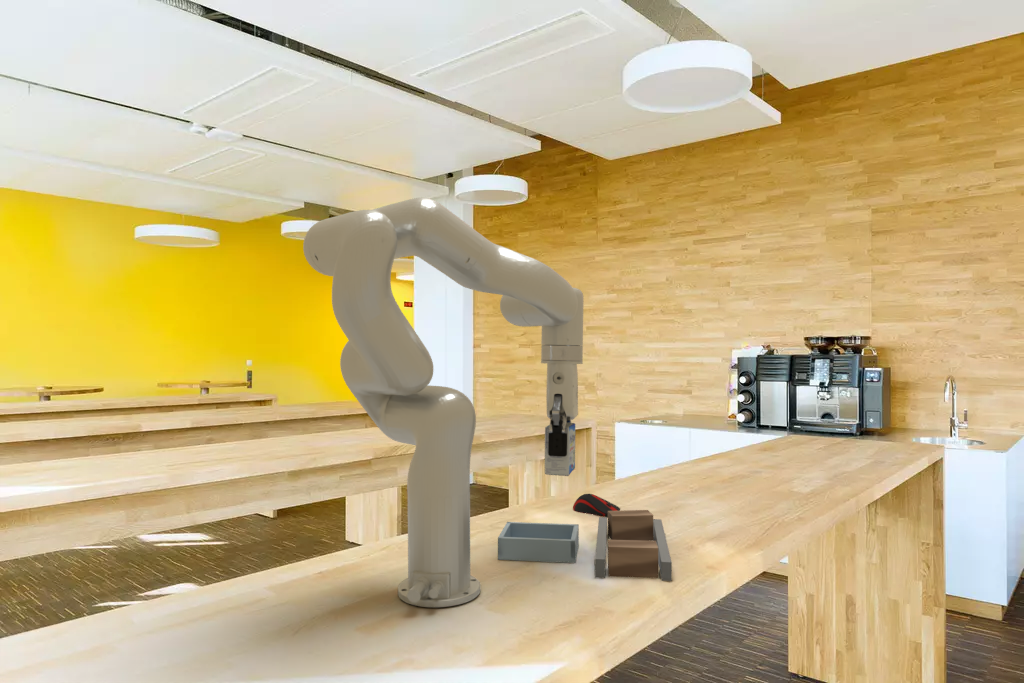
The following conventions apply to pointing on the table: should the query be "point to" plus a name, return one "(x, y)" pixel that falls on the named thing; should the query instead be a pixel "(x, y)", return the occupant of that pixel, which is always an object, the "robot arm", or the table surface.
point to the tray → (539, 542)
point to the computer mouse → (594, 505)
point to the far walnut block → (630, 525)
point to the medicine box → (560, 463)
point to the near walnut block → (632, 558)
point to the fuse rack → (659, 537)
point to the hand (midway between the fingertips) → (560, 451)
